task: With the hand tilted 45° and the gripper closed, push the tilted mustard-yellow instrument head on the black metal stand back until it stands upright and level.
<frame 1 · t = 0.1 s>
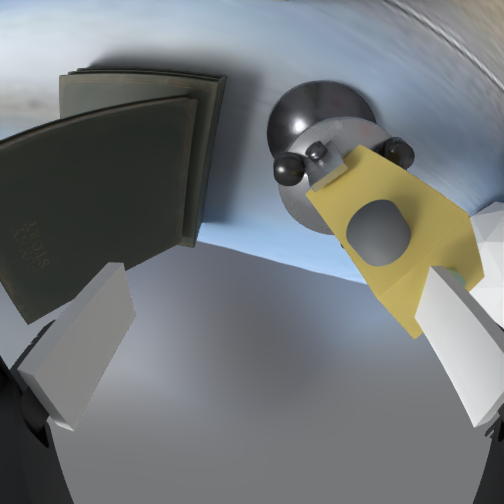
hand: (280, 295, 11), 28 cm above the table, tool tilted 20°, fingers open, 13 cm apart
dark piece: (144, 144, 36), on the table
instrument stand: (322, 132, 34), on the table
instrument head: (392, 232, 17), point 21 cm above the table, hinge at 14.0°
lamp: (490, 207, 38), on the table
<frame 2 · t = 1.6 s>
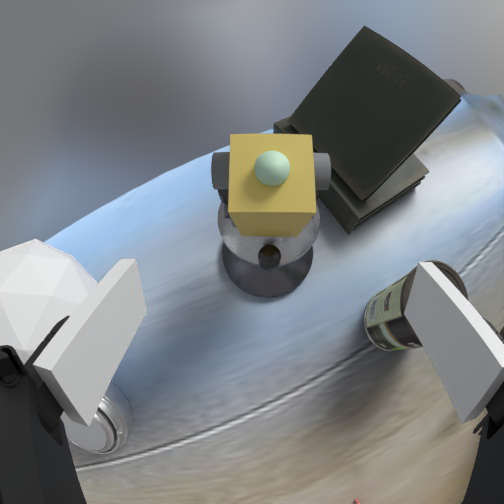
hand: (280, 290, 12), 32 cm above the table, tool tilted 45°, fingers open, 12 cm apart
coffee can: (391, 319, 41), on the table
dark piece: (347, 165, 52), on the table
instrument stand: (267, 253, 46), on the table
instrument head: (270, 193, 25), point 21 cm above the table, hinge at 15.4°
lamp: (87, 356, 41), on the table
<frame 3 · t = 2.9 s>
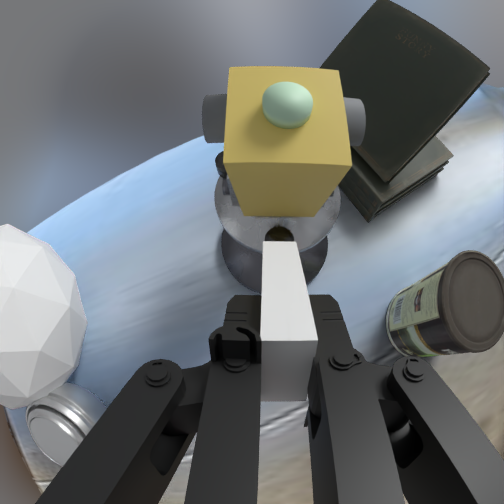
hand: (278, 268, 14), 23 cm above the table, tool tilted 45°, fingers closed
coffee can: (416, 321, 34), on the table
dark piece: (363, 148, 45), on the table
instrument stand: (274, 244, 39), on the table
instrument head: (282, 153, 19), point 21 cm above the table, hinge at 15.4°
lamp: (67, 359, 34), on the table
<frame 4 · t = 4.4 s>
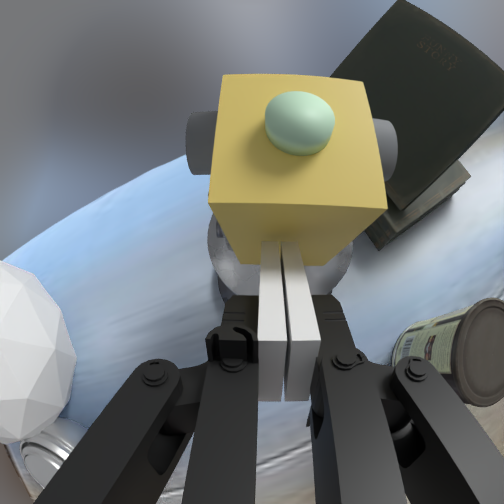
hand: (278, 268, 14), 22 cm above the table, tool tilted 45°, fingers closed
coffee can: (423, 358, 31), on the table
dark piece: (375, 164, 42), on the table
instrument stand: (276, 276, 36), on the table
instrument head: (288, 189, 15), point 21 cm above the table, hinge at 8.0°, touching gripper
lamp: (59, 389, 31), on the table
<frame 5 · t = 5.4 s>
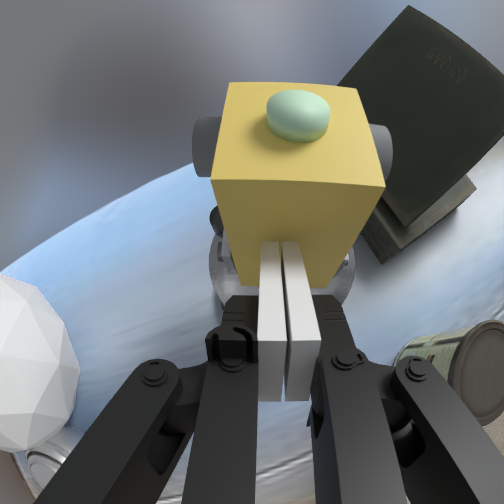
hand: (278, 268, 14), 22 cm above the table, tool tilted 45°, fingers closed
coffee can: (423, 372, 31), on the table
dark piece: (380, 175, 41), on the table
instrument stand: (278, 291, 35), on the table
instrument head: (289, 199, 16), point 21 cm above the table, hinge at -3.9°, touching gripper
lamp: (63, 397, 32), on the table
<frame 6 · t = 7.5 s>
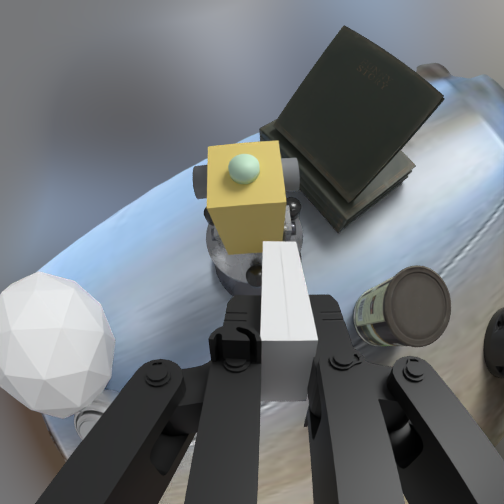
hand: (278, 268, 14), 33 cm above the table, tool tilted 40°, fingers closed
coffee can: (380, 316, 44), on the table
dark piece: (334, 163, 54), on the table
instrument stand: (258, 261, 48), on the table
instrument head: (249, 203, 28), point 21 cm above the table, hinge at -0.6°
lamp: (99, 370, 44), on the table
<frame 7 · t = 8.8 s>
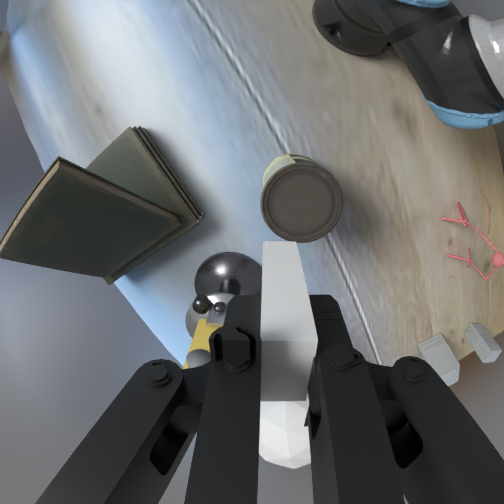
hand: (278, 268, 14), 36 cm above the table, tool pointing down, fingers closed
coffee can: (292, 182, 48), on the table
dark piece: (129, 203, 51), on the table
figurine: (467, 225, 49), on the table
supplement box: (429, 346, 63), on the table
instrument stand: (231, 284, 56), on the table
instrument head: (214, 364, 37), point 21 cm above the table, hinge at -0.6°
lamp: (309, 383, 68), on the table
skincare box: (472, 329, 61), on the table
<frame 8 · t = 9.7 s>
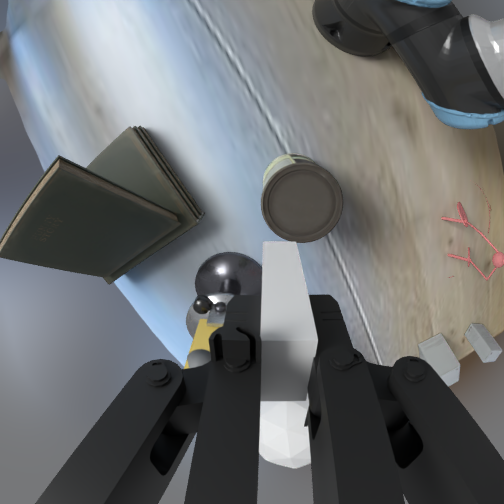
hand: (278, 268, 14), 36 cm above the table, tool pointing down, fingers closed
coffee can: (292, 182, 48), on the table
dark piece: (129, 203, 51), on the table
figurine: (467, 225, 49), on the table
supplement box: (429, 346, 63), on the table
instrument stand: (231, 284, 56), on the table
instrument head: (215, 364, 37), point 21 cm above the table, hinge at -0.6°
lamp: (309, 383, 68), on the table
skincare box: (473, 328, 61), on the table
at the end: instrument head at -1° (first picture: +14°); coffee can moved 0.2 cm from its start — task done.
